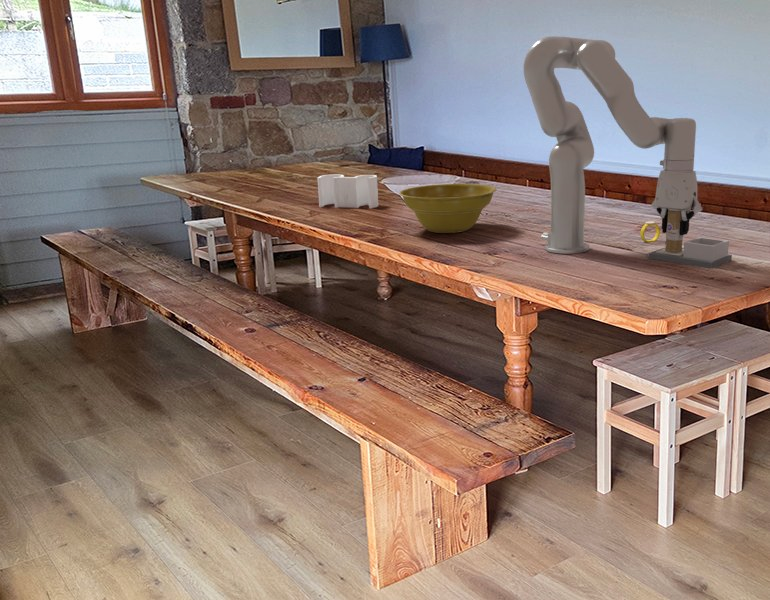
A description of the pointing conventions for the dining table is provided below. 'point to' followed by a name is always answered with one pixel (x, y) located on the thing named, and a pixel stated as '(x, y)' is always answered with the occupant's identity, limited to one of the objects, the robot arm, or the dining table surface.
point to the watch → (645, 228)
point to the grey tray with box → (697, 253)
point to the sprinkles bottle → (673, 231)
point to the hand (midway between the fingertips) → (674, 232)
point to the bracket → (348, 190)
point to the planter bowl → (448, 205)
